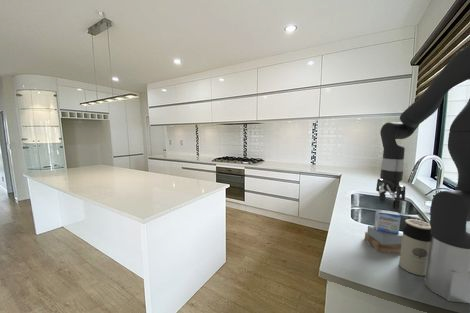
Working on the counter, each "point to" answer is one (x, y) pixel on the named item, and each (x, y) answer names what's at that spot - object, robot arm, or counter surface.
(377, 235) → the tower top block
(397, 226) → the medicine box
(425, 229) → the travel mug
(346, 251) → the counter surface
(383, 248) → the tower base block
